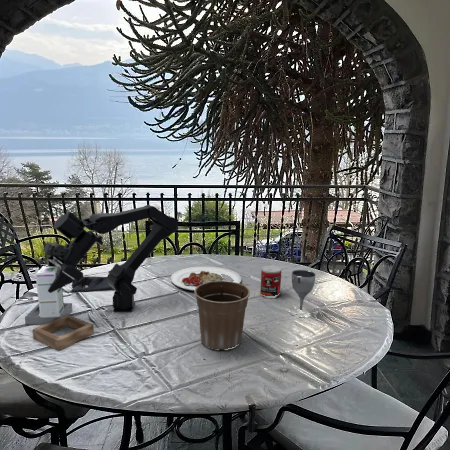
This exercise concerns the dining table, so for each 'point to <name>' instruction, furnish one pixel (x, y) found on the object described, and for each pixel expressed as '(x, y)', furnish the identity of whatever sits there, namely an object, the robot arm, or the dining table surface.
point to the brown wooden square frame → (64, 341)
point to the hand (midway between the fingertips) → (45, 288)
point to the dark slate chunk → (91, 284)
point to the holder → (35, 319)
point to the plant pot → (221, 313)
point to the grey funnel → (303, 283)
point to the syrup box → (49, 301)
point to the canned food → (270, 280)
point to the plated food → (201, 276)
